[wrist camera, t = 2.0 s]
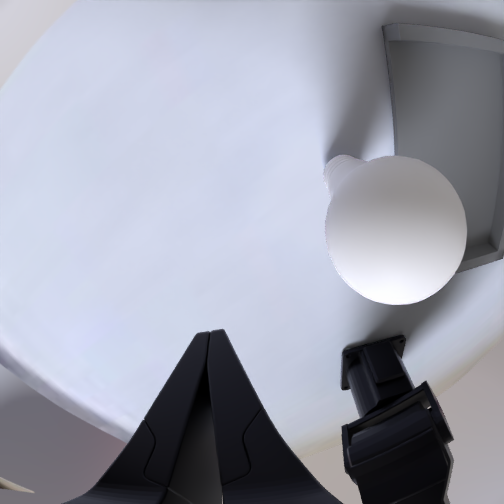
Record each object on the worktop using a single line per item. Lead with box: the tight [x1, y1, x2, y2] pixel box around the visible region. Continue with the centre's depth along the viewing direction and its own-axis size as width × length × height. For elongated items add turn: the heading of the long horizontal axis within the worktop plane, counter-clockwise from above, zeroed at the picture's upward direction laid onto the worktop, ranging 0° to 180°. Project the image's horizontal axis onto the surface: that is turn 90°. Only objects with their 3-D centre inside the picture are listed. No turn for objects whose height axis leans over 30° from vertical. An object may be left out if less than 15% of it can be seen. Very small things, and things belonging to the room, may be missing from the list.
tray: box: [382, 23, 504, 274], centre depth 18 cm, size 18×11×2 cm, turn 10°
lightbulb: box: [323, 155, 467, 305], centre depth 14 cm, size 6×6×11 cm
